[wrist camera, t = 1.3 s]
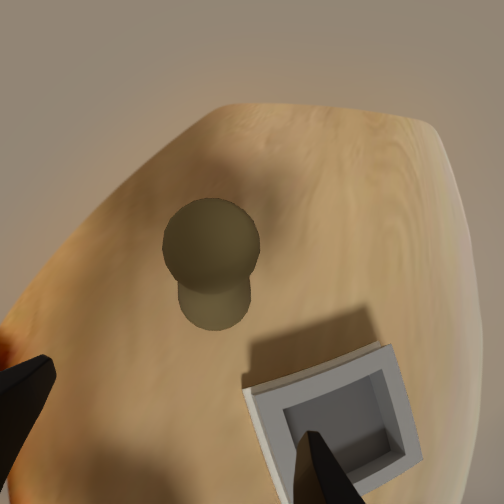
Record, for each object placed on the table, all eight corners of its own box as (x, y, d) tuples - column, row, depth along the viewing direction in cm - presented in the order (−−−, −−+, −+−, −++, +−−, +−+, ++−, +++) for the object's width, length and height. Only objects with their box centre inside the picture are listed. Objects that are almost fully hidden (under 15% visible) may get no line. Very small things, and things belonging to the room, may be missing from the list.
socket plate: (284, 511, 17) (293, 529, 13) (241, 389, 21) (244, 390, 18) (406, 455, 19) (428, 460, 16) (373, 342, 23) (393, 335, 20)
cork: (171, 322, 23) (133, 276, 13) (186, 255, 25) (168, 173, 15) (245, 336, 23) (264, 301, 13) (255, 267, 25) (278, 190, 15)
